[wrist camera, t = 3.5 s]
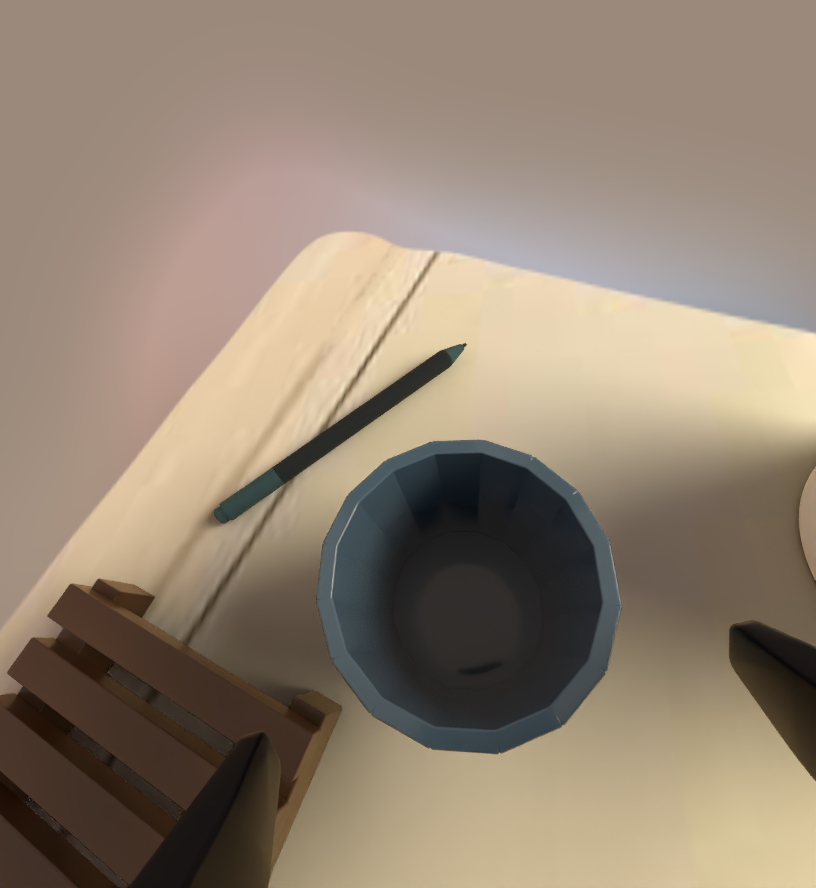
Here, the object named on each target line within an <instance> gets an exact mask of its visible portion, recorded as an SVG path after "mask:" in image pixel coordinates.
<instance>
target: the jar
mask: <svg viewBox="0 0 816 888" xmlns="http://www.w3.org/2000/svg"><path fill="white" fill-rule="evenodd" d="M799 529H800V536H801V542H802V546H803V550H804V553H805V557H806V560H807V562H808V565H809V568H810V570H811V572H812V574H813V577H814V579H815V581H816V467H815V468H814V470H813V471H812V473H811V474H810V476H809V478H808V480H807V482H806V484H805V487H804V489H803V493H802V496H801V501H800V508H799Z"/></svg>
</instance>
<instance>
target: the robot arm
mask: <svg viewBox="0 0 816 888" xmlns="http://www.w3.org/2000/svg"><path fill="white" fill-rule="evenodd" d="M729 658H730V662H731V665H732V667H733V669H734V671H735V672H736V674H737V675H738V676H739V678H740V679H741V681H742V682H743V683H744V685H745V686H746V688H747V689H748V690H749V692H750V693H751V695H752V696H753V697H754V699H755V700H756V702H757V703H758V705H759V706H760V707H761V709H762V710H763V712H764V713H765V714H766V716H767V717H768V719H769V720H770V721H771V723H772V724H773V726H774V727H775V728H776V730H777V731H778V733H779V734H780V735H781V737H782V738H783V740H784V741H785V742H786V744H787V745H788V747H789V748H790V749H791V751H792V752H793V753H794V755H795V756H796V757H797V759H798V760H799V761H800V763H801V764H802V765H803V766H804V767H805V769H806V770H807V771H808V772H809V774H810V775H811V776H812V777H813V779H814V780H815V781H816V647H815V646H813V645H811V644H808V643H806V642H804V641H802V640H799V639H797V638H795V637H793V636H790V635H788V634H786V633H784V632H781V631H779V630H777V629H775V628H772V627H770V626H768V625H766V624H763V623H761V622H758V621H754V620H750V621H745V622H741V623H736V624H733V625H732V626H731V627H730V630H729ZM280 774H281V765H280V760H279V757H278V755H277V753H276V751H275V749H274V747H273V745H272V743H271V741H270V739H269V737H268V735H267V733H266V732H264V731H257V732H253V733H248V734H245V735H244V736H242V737H241V738H240V739H239V740H238V742H237V743H236V744H235V746H234V747H233V748H232V750H231V751H230V752H229V754H228V755H227V756H226V758H225V759H224V760H223V762H222V763H221V764H220V766H219V767H218V768H217V770H216V771H215V772H214V774H213V775H212V776H211V778H210V779H209V780H208V782H207V783H206V784H205V786H204V787H203V788H202V790H201V791H200V792H199V794H198V795H197V796H196V798H195V799H194V800H193V802H192V803H191V804H190V806H189V807H188V808H187V810H186V811H185V812H184V814H183V815H182V816H181V818H180V819H179V820H178V822H177V823H176V824H175V826H174V827H173V828H172V830H171V831H170V832H169V833H168V835H167V836H166V837H165V839H164V840H163V841H162V843H161V844H160V845H159V847H158V848H157V849H156V851H155V852H154V853H153V855H152V856H151V857H150V859H149V860H148V861H147V863H146V864H145V865H144V867H143V868H142V869H141V871H140V872H139V873H138V875H137V876H136V877H135V879H134V880H133V881H132V883H131V884H130V885H129V887H128V888H268V886H269V879H270V873H271V865H272V856H273V846H274V836H275V825H276V815H277V805H278V795H279V784H280Z"/></svg>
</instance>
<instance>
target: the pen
mask: <svg viewBox="0 0 816 888" xmlns="http://www.w3.org/2000/svg"><path fill="white" fill-rule="evenodd" d="M466 345H467V344H466V343H464V344H463V345H462V344H459V345H456V346H453V347H450V348H447V349H444V350H441V351H439V352H438V353H436V354H435V355H433V356H432V357H430V358H429V359H428V360H426V361H425V362H423V363H422V364H420V365H419V366H418V367H416V368H415V369H413V370H412V371H410V372H409V373H407V374H406V375H405V376H403V377H402V378H400V379H399V380H397V381H396V382H395V383H393V384H392V385H390V386H389V387H387V388H386V389H384V390H383V391H382V392H380V393H379V394H377V395H376V396H374V397H373V398H372V399H370V400H369V401H367V402H366V403H364V404H363V405H361V406H360V407H359V408H357V409H356V410H354V411H353V412H351V413H350V414H349V415H347V416H346V417H344V418H343V419H341V420H340V421H338V422H337V423H336V424H334V425H333V426H331V427H330V428H328V429H327V430H325V431H324V432H323V433H321V434H320V435H318V436H317V437H315V438H314V439H313V440H311V441H310V442H308V443H307V444H305V445H304V446H302V447H301V448H300V449H298V450H297V451H295V452H294V453H292V454H291V455H290V456H288V457H287V458H285V459H284V460H282V461H281V462H279V463H278V464H277V465H275V466H274V467H272V468H271V469H269V470H268V471H267V472H265V473H264V474H262V475H261V476H259V477H258V478H256V479H255V480H254V481H252V482H251V483H249V484H248V485H246V486H245V487H244V488H242V489H241V490H239V491H238V492H236V493H235V494H233V495H232V496H231V497H229V498H228V499H226V500H225V501H223V502H222V503H221V504H220V506H219V507H218V508H217V509H215V510H214V515H215V517H216V518H217V519H218V520H219V521H220V522H221V523H226V522H228V521H229V520H234V519H235V518H236V517H238V516H239V515H241V514H242V513H243V512H245V511H246V510H248V509H249V508H251V507H252V506H253V505H255V504H256V503H258V502H259V501H260V500H262V499H263V498H265V497H266V496H268V495H269V494H270V493H272V492H273V491H275V490H276V489H277V488H279V487H280V486H282V485H283V484H285V483H286V482H287V481H289V480H290V479H292V478H293V477H294V476H296V475H297V474H299V473H300V472H302V471H303V470H304V469H306V468H307V467H309V466H310V465H311V464H313V463H314V462H316V461H317V460H319V459H320V458H321V457H323V456H324V455H326V454H327V453H328V452H330V451H331V450H333V449H334V448H335V447H337V446H338V445H340V444H341V443H343V442H344V441H345V440H347V439H348V438H350V437H351V436H352V435H354V434H355V433H357V432H358V431H360V430H361V429H362V428H364V427H365V426H367V425H368V424H369V423H371V422H372V421H374V420H375V419H377V418H378V417H379V416H381V415H382V414H384V413H385V412H386V411H388V410H389V409H391V408H392V407H394V406H395V405H396V404H398V403H399V402H401V401H402V400H403V399H405V398H406V397H408V396H409V395H411V394H412V393H413V392H415V391H416V390H418V389H419V388H420V387H422V386H423V385H425V384H426V383H428V382H429V381H430V380H432V379H433V378H435V377H436V376H437V375H439V374H440V373H442V372H443V371H445V370H446V369H447V368H449V367H450V366H451V365H452V364H453V363H454V361H455V360H456V359H457V358H458V356H459V355H460V354H461V353H462V351H463V350H464V347H465V346H466Z"/></svg>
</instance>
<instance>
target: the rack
mask: <svg viewBox="0 0 816 888" xmlns="http://www.w3.org/2000/svg"><path fill="white" fill-rule="evenodd" d="M153 599H154V596H152V595H151V594H149V593H147V592H146V591H144V590H142V589H141V588H139V587H137V586H135V585H132V584H126V583H121V582H115V581H109V580H104V579H98V580H97V581H96V582H95V584H94V585H93V587H90V586H84V585H77V584H70V585H69V586H68V588H67V589H66V591H65V592H64V593H63V595H62V596H61V597H60V599H59V600H58V602H57V603H56V604H55V606H54V607H53V609H52V610H51V611H50V613H49V614H48V617H49V618H50V619H52V620H53V621H55V622H56V623H58V624H59V625H61V626H62V627H64V628H63V630H62V631H61V633H60V634H59V636H58V637H57V638H56V639H55V638H32V639H31V640H30V641H29V643H28V644H27V645H26V647H25V648H24V650H23V651H22V652H21V654H20V655H19V656H18V658H17V659H16V661H15V662H14V663H13V665H12V666H11V668H10V669H9V670H8V672H7V674H8V675H10V676H11V677H12V678H14V679H15V680H16V681H17V682H19V683H20V684H21V685H23V687H22V689H21V690H20V692H19V693H18V694H17V695H16V694H5V695H0V888H118V887H117V886H116V885H115V884H114V883H113V882H112V881H111V880H110V879H109V878H107V877H106V876H105V875H104V874H103V873H102V872H101V871H100V870H99V869H97V868H96V867H95V866H94V865H93V864H92V863H91V862H90V861H89V860H87V859H86V858H85V857H84V856H83V855H82V854H81V853H80V852H79V851H77V850H76V849H75V848H74V847H73V846H72V845H71V844H70V843H69V842H68V841H66V840H65V839H64V838H63V837H62V836H61V835H60V834H59V833H58V832H56V831H55V830H54V829H53V828H52V827H51V826H50V825H49V824H48V823H46V822H45V821H44V820H43V819H42V818H41V817H40V816H39V815H38V814H36V813H35V812H34V811H33V810H32V809H31V808H30V807H29V806H28V805H27V804H25V803H24V802H25V800H26V799H27V797H28V796H29V797H30V798H31V799H32V800H34V801H35V802H36V803H37V804H38V805H39V806H40V807H41V808H43V809H44V810H45V811H46V812H47V813H48V814H49V815H50V816H52V817H53V818H54V819H55V820H56V821H57V822H58V823H59V824H61V825H62V826H63V827H64V828H65V829H66V830H67V831H68V832H70V833H71V834H72V835H73V836H74V837H75V838H76V839H77V840H78V841H80V842H81V843H82V844H83V845H84V846H85V847H86V848H87V849H89V850H90V851H91V852H92V853H93V854H94V855H95V856H96V857H98V858H99V859H100V860H101V861H102V862H103V863H104V864H105V865H107V866H108V867H109V868H110V869H111V870H112V871H113V872H114V873H116V874H117V875H118V876H119V877H120V878H121V879H122V880H123V881H125V882H126V883H127V884H128V885H130V884H131V883H132V881H133V880H134V879H135V877H136V876H137V875H138V873H139V872H140V871H141V869H142V868H143V867H144V865H145V864H146V863H147V861H148V860H149V859H150V857H151V856H152V855H153V853H154V852H155V851H156V849H157V848H158V847H159V845H160V844H161V843H162V841H163V840H164V839H165V837H166V836H167V835H168V833H169V832H170V831H171V830H172V828H173V827H174V826H175V824H176V823H177V822H178V821H176V820H175V819H174V818H172V817H171V816H170V815H169V814H167V813H166V812H165V811H164V810H162V809H161V808H160V807H158V806H157V805H156V804H155V803H153V802H152V801H151V800H150V799H148V798H147V797H146V796H145V795H143V794H142V793H141V792H139V791H138V790H137V789H136V788H134V787H133V786H132V785H131V784H129V783H128V782H127V781H125V780H124V779H123V778H122V777H120V776H119V775H118V774H117V773H115V772H114V771H113V770H112V769H110V768H109V767H108V766H106V765H105V764H104V763H103V762H101V761H100V760H99V759H98V758H96V757H95V756H94V755H92V754H91V753H90V752H89V751H87V750H86V749H85V748H84V747H82V746H81V745H80V744H79V743H77V742H76V741H75V740H73V739H72V738H71V737H70V736H68V735H67V734H68V733H69V731H70V729H71V728H72V726H73V725H74V726H76V727H77V728H78V729H80V730H81V731H82V732H84V733H85V734H86V735H87V736H89V737H90V738H91V739H93V740H94V741H95V742H96V743H98V744H99V745H100V746H102V747H103V748H104V749H106V750H107V751H108V752H109V753H111V754H112V755H113V756H115V757H116V758H117V759H119V760H120V761H121V762H122V763H124V764H125V765H126V766H128V767H129V768H130V769H131V770H133V771H134V772H135V773H137V774H138V775H139V776H141V777H142V778H143V779H144V780H146V781H147V782H148V783H150V784H151V785H152V786H153V787H155V788H156V789H157V790H159V791H160V792H161V793H163V794H164V795H165V796H166V797H168V798H169V799H170V800H172V801H173V802H174V803H175V804H177V805H178V806H179V807H181V808H182V809H183V810H185V811H186V810H187V808H188V807H189V806H190V804H191V803H192V802H193V800H194V799H195V798H196V796H197V795H198V794H199V792H200V791H201V790H202V788H203V787H204V786H205V784H206V783H207V782H208V780H209V779H210V778H211V776H212V775H213V774H214V772H215V771H216V770H217V768H218V767H219V766H220V764H221V763H222V762H223V760H224V759H225V758H226V757H225V756H223V755H222V754H220V753H219V752H218V751H216V750H215V749H213V748H212V747H210V746H209V745H207V744H206V743H205V742H203V741H202V740H200V739H199V738H197V737H196V736H194V735H193V734H192V733H190V732H189V731H187V730H186V729H184V728H183V727H182V726H180V725H179V724H177V723H176V722H174V721H173V720H171V719H170V718H169V717H167V716H166V715H164V714H163V713H161V712H160V711H158V710H157V709H156V708H154V707H153V706H151V705H150V704H148V703H147V702H146V701H144V700H143V699H141V698H140V697H138V696H137V695H135V694H134V693H133V692H131V691H130V690H128V689H127V688H125V687H124V686H122V685H121V684H120V683H118V682H117V681H115V680H114V679H112V678H111V677H109V676H108V675H107V674H106V673H107V671H108V670H109V668H110V667H111V665H112V663H113V662H115V663H117V664H118V665H120V666H121V667H123V668H124V669H126V670H127V671H129V672H130V673H132V674H133V675H135V676H136V677H138V678H139V679H140V680H142V681H143V682H145V683H146V684H148V685H149V686H151V687H152V688H154V689H155V690H157V691H158V692H160V693H161V694H163V695H164V696H166V697H167V698H169V699H170V700H172V701H173V702H175V703H176V704H177V705H179V706H180V707H182V708H183V709H185V710H186V711H188V712H189V713H191V714H192V715H194V716H195V717H197V718H198V719H200V720H201V721H203V722H204V723H206V724H207V725H209V726H210V727H212V728H213V729H214V730H216V731H217V732H219V733H220V734H222V735H223V736H225V737H226V738H228V739H229V740H231V741H232V742H234V743H235V744H236V743H237V742H238V740H239V739H240V738H241V737H242V736H244V735H245V734H248V733H253V732H257V731H264V732H266V733H267V735H268V737H269V739H270V741H271V743H272V745H273V747H274V749H275V751H276V753H277V755H278V757H279V760H280V765H281V774H280V784H279V795H278V805H277V815H276V825H275V836H274V846H273V856H272V865H271V872H272V870H273V867H274V865H275V863H276V860H277V858H278V856H279V854H280V851H281V849H282V847H283V844H284V842H285V840H286V837H287V835H288V833H289V830H290V828H291V826H292V824H293V821H294V819H295V817H296V814H297V812H298V810H299V807H300V805H301V803H302V800H303V798H304V796H305V794H306V791H307V789H308V787H309V784H310V782H311V780H312V777H313V775H314V773H315V770H316V768H317V766H318V764H319V761H320V759H321V757H322V754H323V752H324V750H325V747H326V745H327V743H328V741H329V738H330V736H331V734H332V731H333V729H334V727H335V724H336V722H337V720H338V717H339V715H340V713H341V711H342V707H341V706H340V705H338V704H337V703H335V702H333V701H332V700H330V699H328V698H326V697H325V696H323V695H321V694H320V693H318V692H316V691H312V692H308V693H305V694H301V695H298V696H295V697H294V698H293V699H292V702H291V704H290V706H289V708H287V707H285V706H284V705H282V704H281V703H279V702H277V701H276V700H274V699H272V698H271V697H269V696H268V695H266V694H264V693H263V692H261V691H259V690H258V689H256V688H255V687H253V686H251V685H250V684H248V683H246V682H245V681H243V680H242V679H240V678H238V677H237V676H235V675H233V674H232V673H230V672H228V671H227V670H225V669H224V668H222V667H220V666H219V665H217V664H215V663H214V662H212V661H211V660H209V659H207V658H206V657H204V656H202V655H201V654H199V653H198V652H196V651H194V650H193V649H191V648H189V647H188V646H186V645H185V644H183V643H181V642H180V641H178V640H176V639H175V638H173V637H171V636H170V635H168V634H167V633H165V632H163V631H162V630H160V629H158V628H157V627H155V626H154V625H152V624H150V623H149V622H147V621H145V620H144V619H142V616H143V615H144V613H145V612H146V610H147V608H148V607H149V605H150V604H151V602H152V601H153ZM270 874H271V873H270Z"/></svg>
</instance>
